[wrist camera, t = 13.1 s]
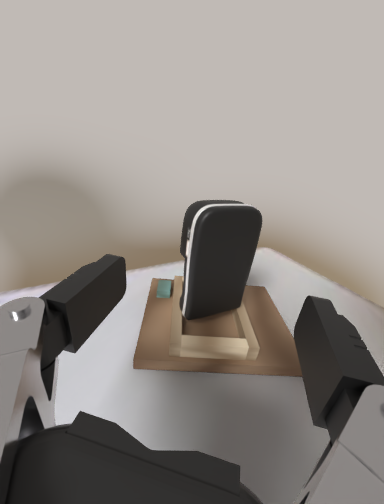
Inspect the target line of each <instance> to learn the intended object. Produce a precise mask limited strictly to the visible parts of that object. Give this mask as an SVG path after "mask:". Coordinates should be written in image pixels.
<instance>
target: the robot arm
mask: <svg viewBox="0 0 384 504" xmlns="http://www.w3.org/2000/svg"><path fill="white" fill-rule="evenodd" d="M125 291H126V264H125V259H124V258H123V257H120V256H115V255H110V254H106V255H105V256H103V257H102V258H101V259H99V260H98V261H97V262H93V263H91V264H88V265H85V266H83V267H81V268H80V269H79V270H77V271H76V272H75V273H74V274H71V275H70V276H69V277H67V279H64V280H63V281H62V282H60V283H59V284H57V285H56V286H54V287H53V288H52V289H50V290H49V291H47V292H46V293H45V294H43V295H42V296H40V297H39V298H37V297H24V298H19V299H15V300H12V301H10V302H8V303H6V304H4V305H2V306H1V307H0V504H263V503H262V502H261V501H260V500H259V498H258V497H257V496H256V495H255V494H253V493H252V492H251V491H250V490H249V489H248V488H247V487H246V486H244V485H243V484H242V483H240V466H239V465H236V464H233V463H230V462H228V461H225V460H222V459H219V458H216V457H213V456H210V455H207V454H204V453H201V452H198V451H157V450H151V449H148V448H147V447H145V446H144V445H143V444H142V443H140V442H139V441H138V440H137V439H135V438H134V437H133V436H131V435H130V434H129V433H128V432H126V431H125V430H124V429H122V428H121V427H120V426H119V425H117V424H116V423H114V422H111V421H108V420H105V419H102V418H99V417H96V416H93V415H90V414H87V413H85V412H82V411H80V412H79V413H78V415H77V416H76V418H75V420H74V421H73V423H72V424H64V425H58V426H56V424H55V413H54V409H55V396H56V386H57V375H58V364H59V359H58V355H59V354H60V353H61V352H62V351H63V350H65V351H68V352H72V353H76V352H77V351H78V349H79V348H80V347H81V346H82V345H83V344H84V342H85V341H86V340H87V339H88V338H89V336H90V335H91V334H92V333H93V332H94V331H95V329H96V328H97V327H98V326H99V325H100V324H101V322H102V321H103V320H104V319H105V318H106V317H107V315H108V314H109V313H110V312H111V311H112V310H113V308H114V307H115V306H116V305H117V304H118V303H119V301H120V300H121V299H122V298H123V296H124V294H125ZM294 341H295V345H296V350H297V354H298V359H299V363H300V367H301V372H302V376H303V381H304V385H305V389H306V394H307V398H308V403H309V407H310V412H311V416H312V420H313V425H315V426H318V427H322V428H325V429H328V431H329V435H330V440H329V442H328V443H327V445H326V447H325V448H324V450H323V452H322V454H321V456H320V457H319V459H318V461H317V463H316V465H315V466H314V468H313V470H312V472H311V473H310V475H309V477H308V479H307V481H306V482H305V484H304V486H303V488H302V490H301V491H300V493H299V495H298V496H297V498H296V500H295V501H294V503H293V504H384V376H383V375H382V373H381V371H380V369H379V368H378V366H377V364H376V363H375V361H374V359H373V357H372V356H371V354H370V352H369V350H367V347H366V345H365V344H364V342H363V340H361V337H360V335H359V333H358V332H357V330H356V328H355V326H354V325H352V324H351V323H350V322H349V321H348V320H347V319H346V318H345V317H344V316H343V315H338V314H337V312H336V310H335V308H334V306H333V304H332V302H331V301H330V300H328V299H323V298H318V297H314V296H307V298H306V299H305V301H304V304H303V307H302V309H301V312H300V314H299V317H298V319H297V322H296V324H295V329H294Z"/></svg>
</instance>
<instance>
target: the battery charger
mask: <svg viewBox="0 0 384 504" xmlns="http://www.w3.org/2000/svg"><path fill="white" fill-rule="evenodd" d="M261 227H262V215H261V213H260V211H259V210H257V208H256V207H254V206H252V205H249V204H244V203H242V202H238V201H230V200H203V201H197V202H195V203H193V204H191V205H190V206H189V207H188V209H187V211H186V213H185V217H184V222H183V229H182V237H181V247H180V253H181V254H182V255H183V257H184V258H185V264H184V283H183V291H182V295H181V297H180V301H179V306H180V310H181V311H182V315H183V316H184V317H185V318H186V319H187V320H193V319H198V318H203V317H207V316H211V315H215V314H219V313H222V312H226V311H229V310H233V309H236V308H239V307H240V306H241V302H242V297H243V293H244V289H245V285H246V282H247V279H248V276H249V272H250V269H251V266H252V262H253V259H254V255H255V252H256V248H257V244H258V240H259V236H260V231H261Z"/></svg>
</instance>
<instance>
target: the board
mask: <svg viewBox="0 0 384 504" xmlns="http://www.w3.org/2000/svg"><path fill="white" fill-rule="evenodd" d="M183 283H184V276H175V279H174V280H169V279H156V278H153V279H152V283H151V287H150V291H149V296H148V300H147V304H146V308H145V313H144V317H143V321H142V325H141V329H140V334H139V338H138V342H137V346H136V351H135V355H134V359H133V369H150V370H172V371H193V372H214V373H236V374H257V375H279V376H300V377H303V376H302V372H301V367H300V363H299V359H298V354H297V350H296V345H295V341H294V338H293V337H292V335H291V333H290V331H289V329H288V328H287V326H286V324H285V322H284V321H283V319H282V317H281V315H280V313H279V312H278V310H277V308H276V306H275V305H274V303H273V301H272V299H271V298H270V296H269V294H268V292H267V290H266V289H265V287H259V286H247V285H245V289H244V293H243V297H242V302H241V306H240V307H239V308H236V309H233V310H229V311H226V312H222V313H219V314H215V315H211V316H207V317H203V318H198V319H193V320H187V319H186V318H185V317H184V316H183V315H182V311H181V310H180V306H179V301H180V297H181V295H182V291H183Z"/></svg>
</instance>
